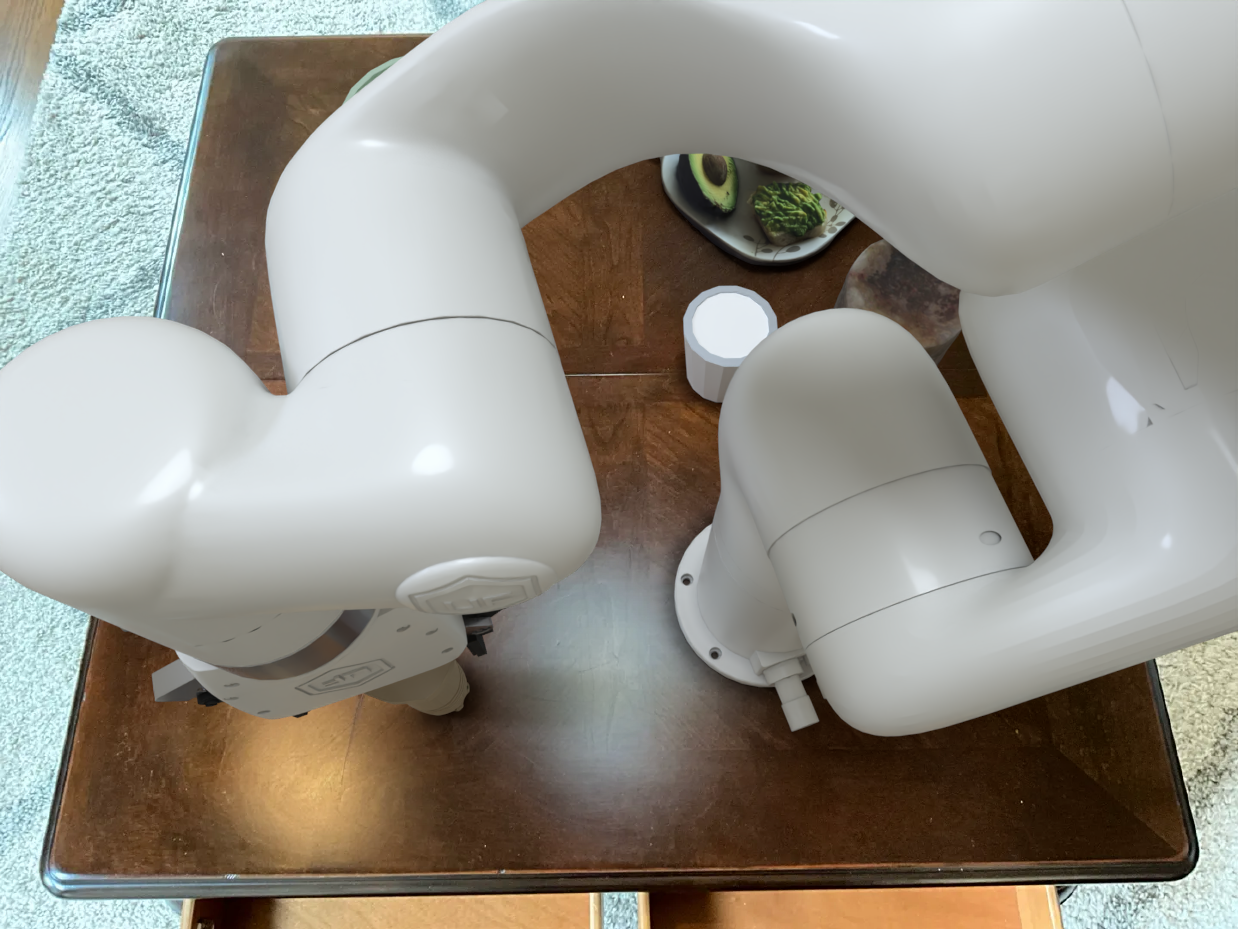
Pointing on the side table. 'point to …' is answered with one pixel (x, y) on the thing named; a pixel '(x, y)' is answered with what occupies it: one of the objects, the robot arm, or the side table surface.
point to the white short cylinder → (723, 336)
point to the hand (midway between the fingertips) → (388, 658)
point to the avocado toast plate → (752, 208)
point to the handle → (428, 690)
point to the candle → (904, 296)
